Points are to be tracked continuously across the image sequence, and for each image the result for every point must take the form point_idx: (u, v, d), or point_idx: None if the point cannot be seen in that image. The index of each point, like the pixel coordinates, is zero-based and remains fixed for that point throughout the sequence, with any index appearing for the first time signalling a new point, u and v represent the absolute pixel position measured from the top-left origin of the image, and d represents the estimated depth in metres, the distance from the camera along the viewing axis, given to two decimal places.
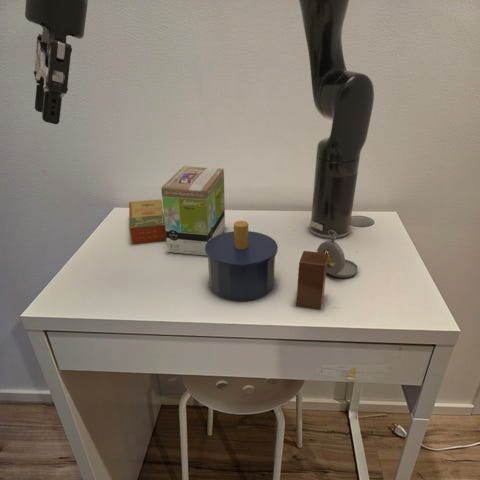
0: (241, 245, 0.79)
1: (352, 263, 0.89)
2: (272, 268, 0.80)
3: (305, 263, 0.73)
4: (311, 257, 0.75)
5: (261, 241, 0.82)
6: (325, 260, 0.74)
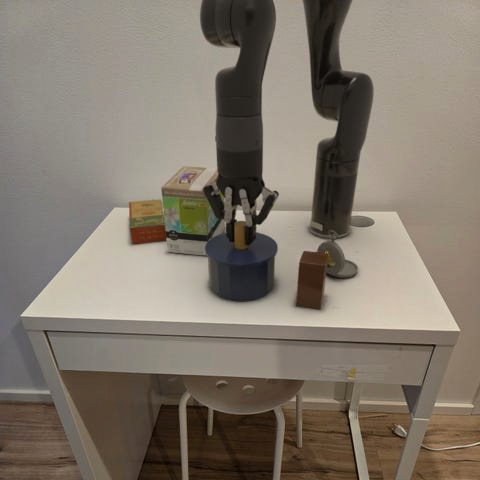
0: (241, 245, 0.79)
1: (352, 263, 0.89)
2: (272, 268, 0.80)
3: (305, 263, 0.73)
4: (311, 257, 0.75)
5: (261, 241, 0.82)
6: (325, 260, 0.74)
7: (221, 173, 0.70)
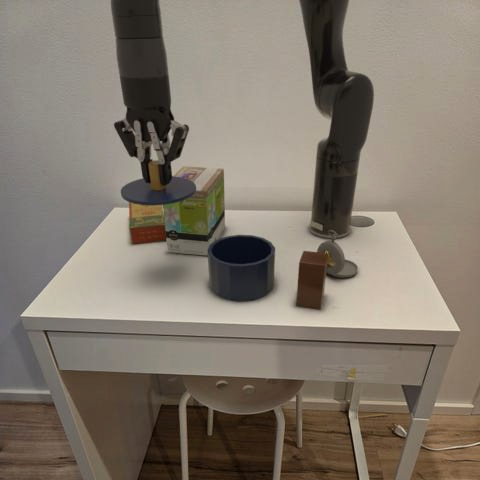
0: (157, 186, 0.77)
1: (352, 263, 0.89)
2: (272, 268, 0.80)
3: (305, 263, 0.73)
4: (311, 257, 0.75)
5: (180, 184, 0.80)
6: (325, 260, 0.74)
7: (126, 103, 0.68)
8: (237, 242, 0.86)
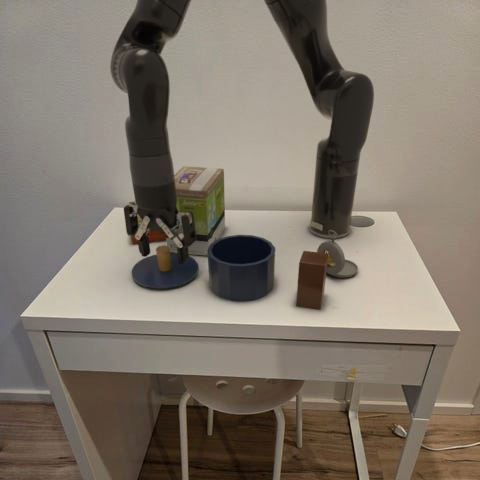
0: (163, 268, 0.87)
1: (352, 263, 0.89)
2: (272, 268, 0.80)
3: (305, 263, 0.73)
4: (311, 257, 0.75)
5: (184, 263, 0.90)
6: (325, 260, 0.74)
7: (137, 204, 0.78)
8: (237, 242, 0.86)
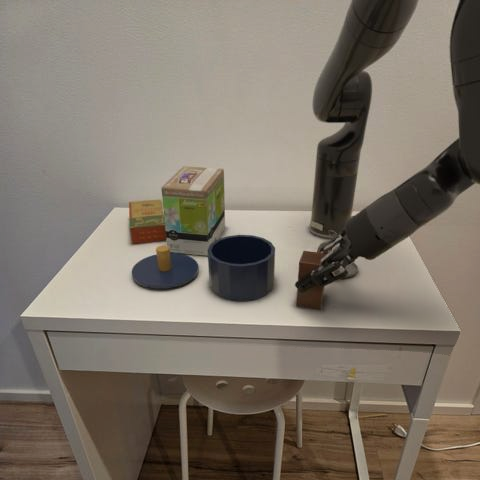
0: (163, 268, 0.87)
1: None
2: (272, 268, 0.80)
3: (305, 263, 0.73)
4: (311, 257, 0.75)
5: (184, 263, 0.90)
6: None
7: None
8: (237, 242, 0.86)
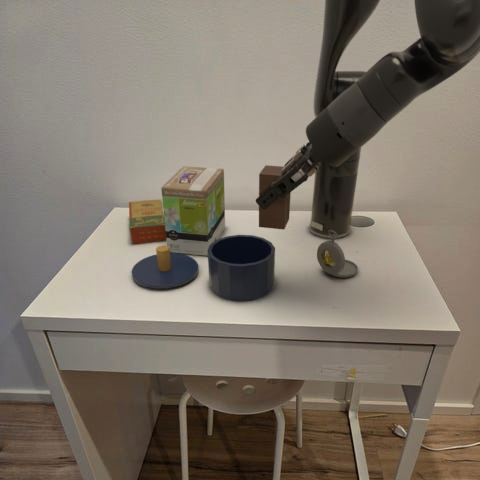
0: (163, 268, 0.87)
1: (352, 263, 0.89)
2: (272, 268, 0.80)
3: (265, 174, 0.68)
4: (273, 170, 0.69)
5: (184, 263, 0.90)
6: None
7: (336, 165, 0.64)
8: (237, 242, 0.86)
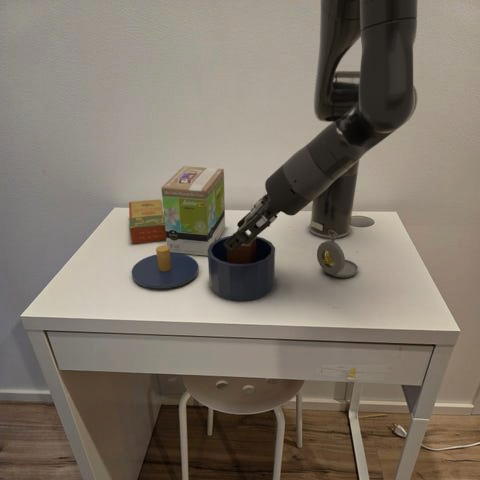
0: (163, 268, 0.87)
1: (352, 263, 0.89)
2: (272, 268, 0.80)
3: None
4: None
5: (184, 263, 0.90)
6: (251, 241, 0.79)
7: (293, 214, 0.72)
8: None
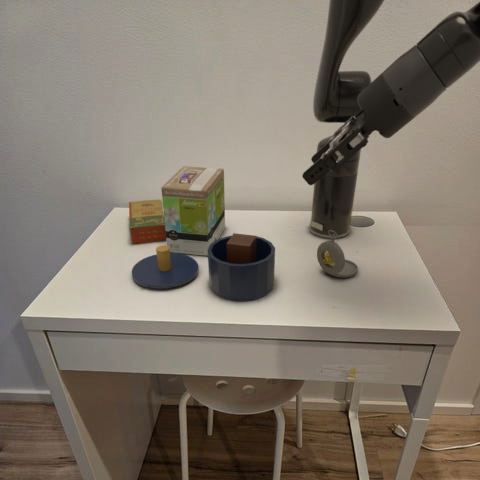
0: (163, 268, 0.87)
1: (352, 263, 0.89)
2: (272, 268, 0.80)
3: (232, 244, 0.78)
4: (239, 239, 0.80)
5: (184, 263, 0.90)
6: (251, 241, 0.79)
7: (389, 136, 0.61)
8: None
